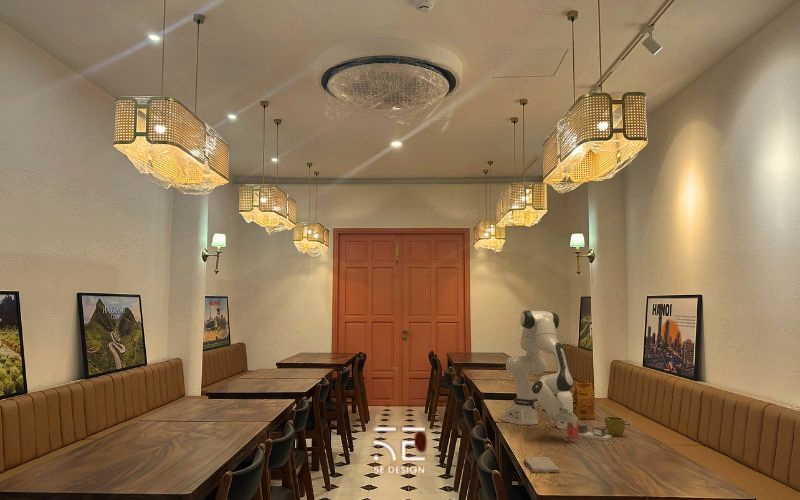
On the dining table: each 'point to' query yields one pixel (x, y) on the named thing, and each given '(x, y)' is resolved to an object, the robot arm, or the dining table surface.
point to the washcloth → (540, 464)
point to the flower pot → (615, 425)
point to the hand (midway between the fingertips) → (569, 424)
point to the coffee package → (584, 401)
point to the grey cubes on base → (597, 432)
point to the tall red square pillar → (572, 431)
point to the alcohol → (565, 406)
